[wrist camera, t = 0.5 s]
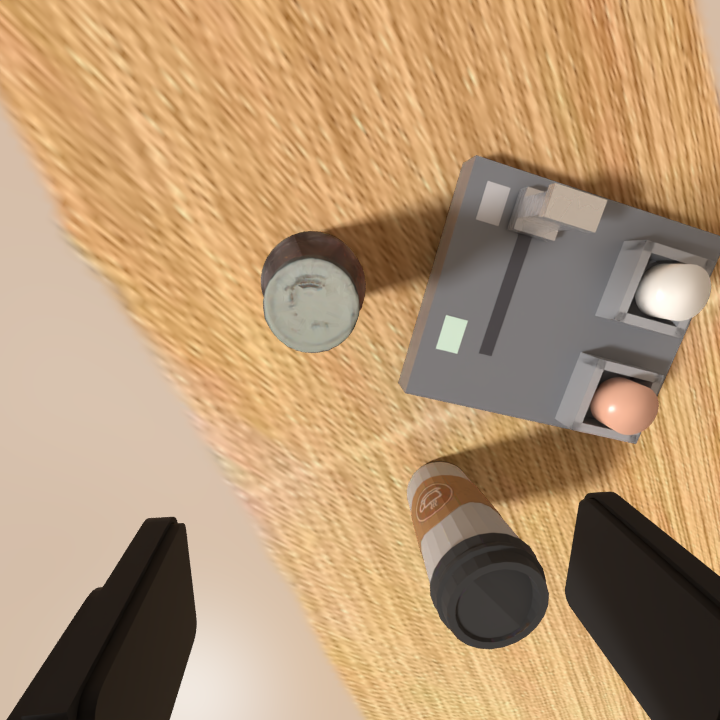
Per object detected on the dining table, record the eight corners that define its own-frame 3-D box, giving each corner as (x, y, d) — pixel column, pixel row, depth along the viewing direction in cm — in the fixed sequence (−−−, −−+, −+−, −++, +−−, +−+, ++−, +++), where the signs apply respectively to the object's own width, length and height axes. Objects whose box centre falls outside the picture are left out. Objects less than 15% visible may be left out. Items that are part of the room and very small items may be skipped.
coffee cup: (442, 434, 41) (511, 532, 27) (490, 486, 43) (578, 603, 29) (379, 487, 42) (414, 610, 27) (429, 536, 44) (486, 674, 30)
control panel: (462, 163, 35) (489, 147, 30) (696, 239, 39) (756, 237, 34) (398, 382, 39) (411, 402, 34) (614, 431, 43) (656, 456, 38)
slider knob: (518, 188, 33) (558, 175, 27) (562, 202, 33) (610, 192, 28) (504, 228, 33) (541, 224, 28) (548, 242, 34) (592, 240, 29)
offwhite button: (648, 257, 33) (673, 257, 31) (693, 271, 34) (720, 272, 32) (627, 309, 34) (649, 313, 32) (670, 322, 35) (696, 326, 33)
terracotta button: (601, 372, 36) (621, 380, 33) (644, 382, 36) (666, 391, 34) (582, 418, 37) (600, 429, 34) (625, 428, 37) (645, 439, 35)
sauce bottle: (300, 219, 35) (283, 178, 16) (364, 257, 36) (421, 261, 17) (265, 288, 36) (209, 329, 17) (328, 322, 37) (344, 396, 18)
